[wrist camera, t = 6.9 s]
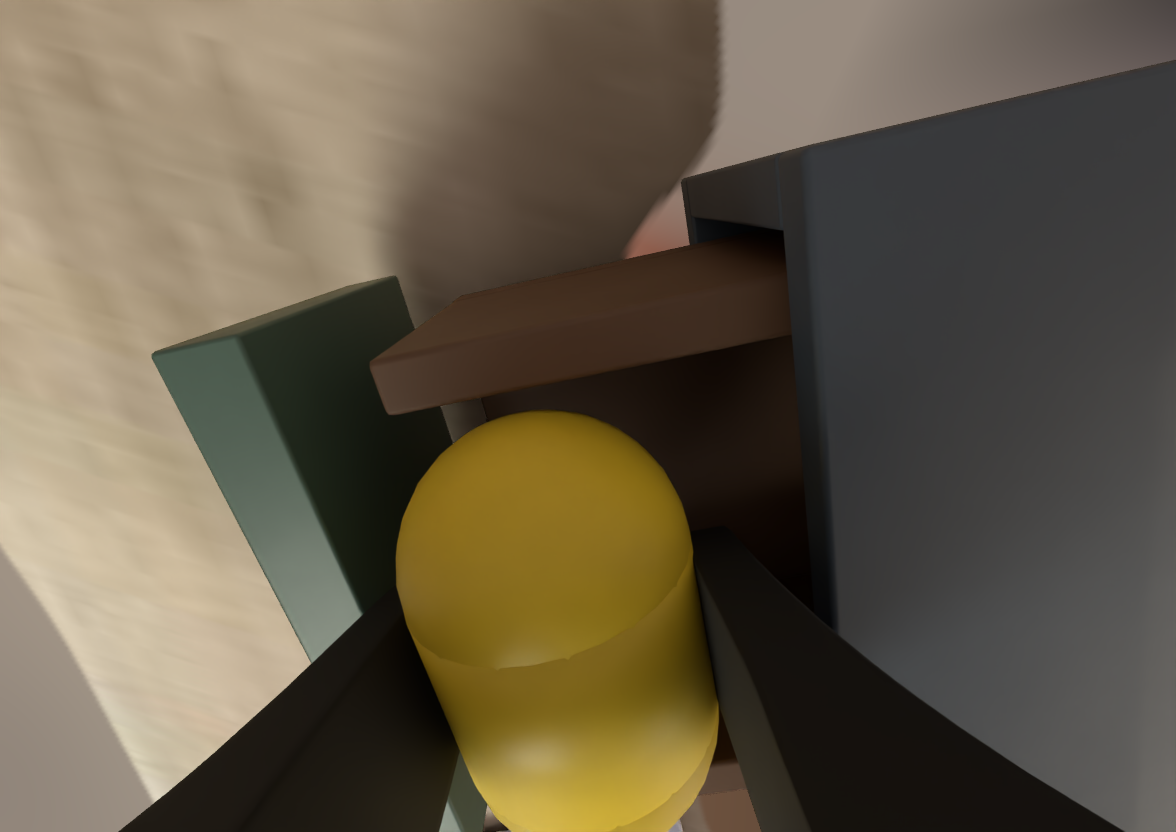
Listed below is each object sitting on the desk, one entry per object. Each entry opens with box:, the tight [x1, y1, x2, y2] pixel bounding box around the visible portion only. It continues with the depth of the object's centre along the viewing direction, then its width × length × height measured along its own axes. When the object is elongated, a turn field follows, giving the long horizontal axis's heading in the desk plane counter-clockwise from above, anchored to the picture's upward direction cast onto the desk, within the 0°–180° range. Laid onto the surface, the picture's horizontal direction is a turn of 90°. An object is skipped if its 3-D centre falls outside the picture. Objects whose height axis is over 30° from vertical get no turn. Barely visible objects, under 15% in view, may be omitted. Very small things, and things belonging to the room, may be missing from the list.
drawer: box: [152, 228, 814, 832], centre depth 11 cm, size 13×10×6 cm
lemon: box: [396, 409, 719, 832], centre depth 8 cm, size 7×4×4 cm, turn 12°
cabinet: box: [681, 60, 1176, 832], centre depth 10 cm, size 13×12×8 cm
